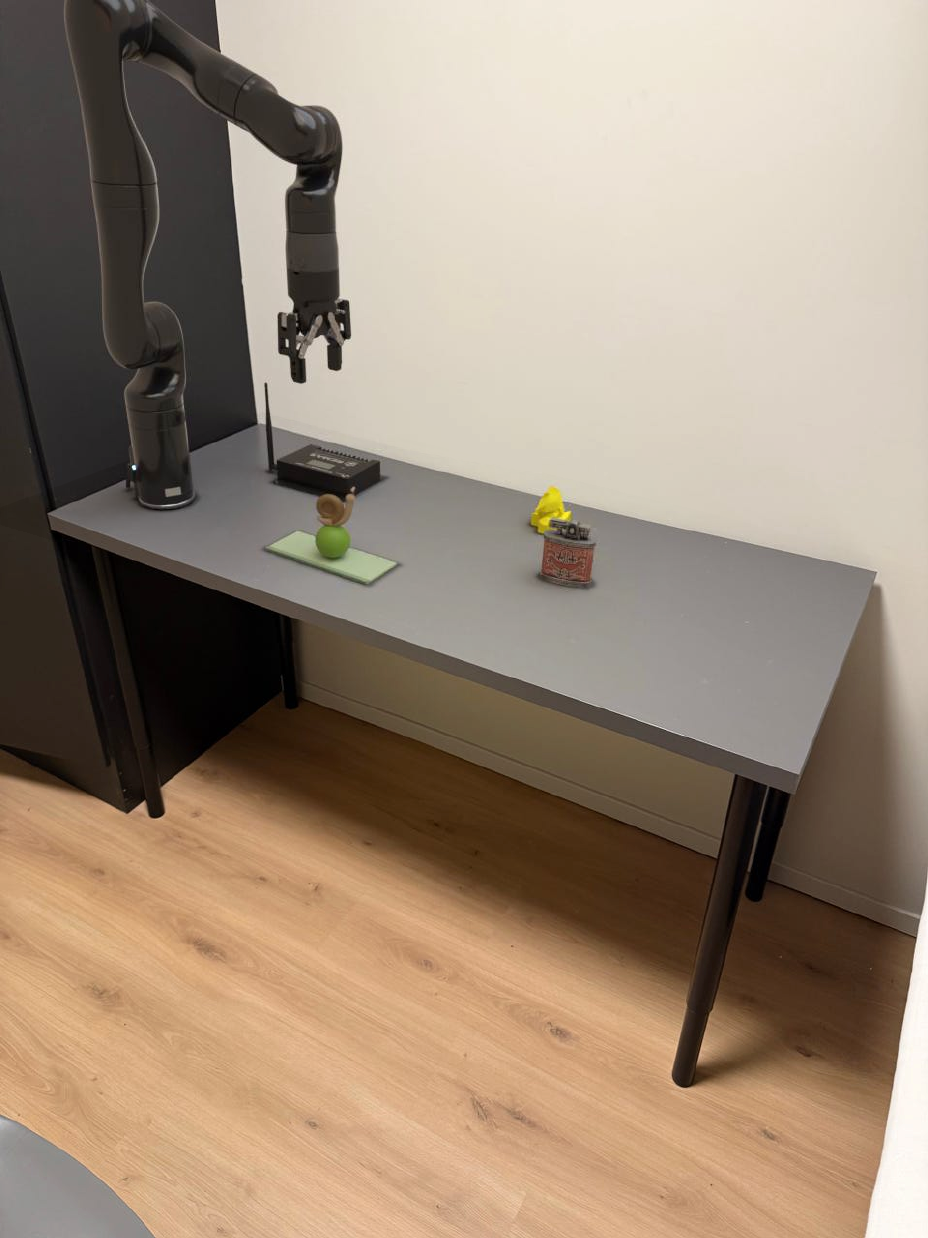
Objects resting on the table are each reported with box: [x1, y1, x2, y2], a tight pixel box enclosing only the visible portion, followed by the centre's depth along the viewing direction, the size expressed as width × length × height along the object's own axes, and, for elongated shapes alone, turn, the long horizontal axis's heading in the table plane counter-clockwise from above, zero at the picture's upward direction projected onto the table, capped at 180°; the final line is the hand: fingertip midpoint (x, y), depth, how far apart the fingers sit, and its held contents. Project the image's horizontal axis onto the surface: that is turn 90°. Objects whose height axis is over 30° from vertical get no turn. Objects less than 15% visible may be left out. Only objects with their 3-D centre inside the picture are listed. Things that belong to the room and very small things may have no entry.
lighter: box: [539, 518, 597, 589], centre depth 140 cm, size 8×3×10 cm, turn 71°
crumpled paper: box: [530, 485, 572, 535], centre depth 158 cm, size 6×8×8 cm
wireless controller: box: [263, 382, 385, 503], centre depth 169 cm, size 20×14×17 cm
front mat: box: [264, 530, 398, 586], centre depth 146 cm, size 20×8×1 cm, turn 59°
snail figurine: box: [315, 487, 356, 558], centre depth 142 cm, size 5×6×12 cm
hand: (317, 375), depth 141 cm, fingers open, 8 cm apart
